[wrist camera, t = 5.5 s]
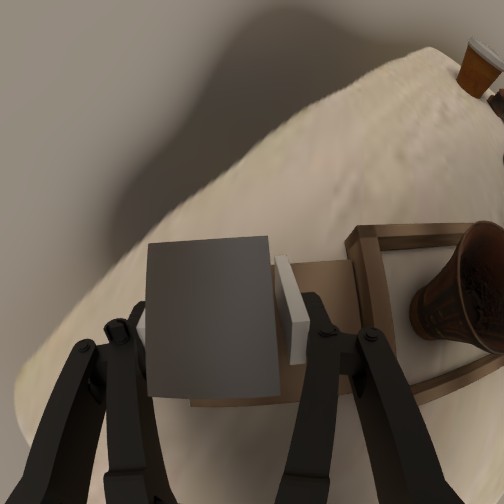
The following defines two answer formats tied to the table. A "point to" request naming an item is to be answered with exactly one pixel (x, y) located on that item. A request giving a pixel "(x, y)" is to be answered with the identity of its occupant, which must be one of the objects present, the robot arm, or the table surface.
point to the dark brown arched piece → (497, 102)
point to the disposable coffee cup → (479, 68)
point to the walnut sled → (269, 315)
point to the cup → (466, 293)
